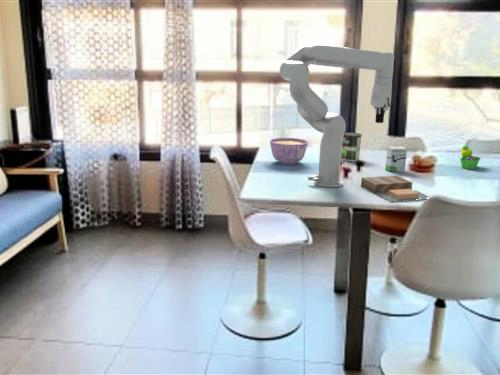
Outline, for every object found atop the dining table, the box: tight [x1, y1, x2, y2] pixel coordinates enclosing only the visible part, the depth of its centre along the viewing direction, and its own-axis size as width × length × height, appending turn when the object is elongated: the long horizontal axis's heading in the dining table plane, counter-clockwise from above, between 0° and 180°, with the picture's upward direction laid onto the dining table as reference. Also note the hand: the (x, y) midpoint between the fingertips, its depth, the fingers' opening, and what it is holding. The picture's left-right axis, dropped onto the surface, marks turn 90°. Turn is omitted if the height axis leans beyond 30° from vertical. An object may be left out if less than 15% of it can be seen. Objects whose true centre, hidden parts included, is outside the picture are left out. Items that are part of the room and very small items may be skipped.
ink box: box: [384, 146, 408, 172], centre depth 261 cm, size 9×5×12 cm, turn 101°
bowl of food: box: [269, 137, 309, 165], centre depth 272 cm, size 20×20×12 cm
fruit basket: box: [460, 145, 481, 170], centre depth 272 cm, size 11×9×11 cm
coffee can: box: [341, 131, 362, 162], centre depth 283 cm, size 10×10×14 cm
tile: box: [388, 189, 419, 199], centre depth 216 cm, size 10×7×2 cm
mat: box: [375, 190, 430, 203], centre depth 217 cm, size 20×12×1 cm, turn 106°
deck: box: [360, 175, 413, 195], centre depth 228 cm, size 18×12×4 cm, turn 106°
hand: (379, 122), depth 235 cm, fingers closed
